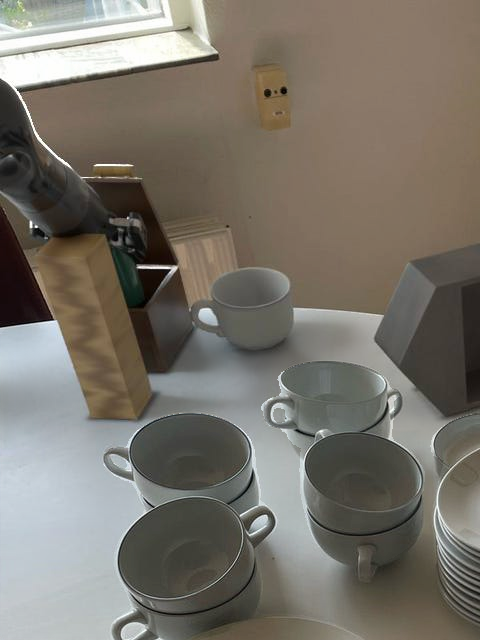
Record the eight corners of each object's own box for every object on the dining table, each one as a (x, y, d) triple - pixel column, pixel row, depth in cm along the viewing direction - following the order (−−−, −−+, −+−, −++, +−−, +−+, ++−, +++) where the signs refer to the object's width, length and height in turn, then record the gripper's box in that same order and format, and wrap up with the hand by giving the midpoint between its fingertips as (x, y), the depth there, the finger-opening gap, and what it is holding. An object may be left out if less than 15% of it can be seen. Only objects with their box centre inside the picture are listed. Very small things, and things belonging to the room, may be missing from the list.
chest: (164, 372, 134) (147, 311, 128) (88, 370, 135) (67, 309, 129) (193, 326, 143) (178, 266, 137) (122, 324, 144) (104, 265, 138)
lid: (140, 182, 124) (150, 152, 126) (58, 181, 125) (69, 152, 127) (177, 265, 136) (185, 237, 138) (102, 264, 137) (112, 235, 140)
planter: (391, 299, 111) (554, 255, 117) (365, 271, 116) (523, 231, 122) (405, 429, 123) (552, 384, 129) (380, 399, 128) (523, 357, 134)
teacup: (291, 314, 145) (282, 260, 139) (306, 350, 137) (297, 295, 132) (194, 332, 142) (180, 278, 136) (204, 370, 134) (190, 314, 129)
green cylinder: (99, 308, 132) (77, 240, 125) (113, 290, 135) (93, 223, 129) (137, 309, 131) (117, 241, 125) (151, 290, 135) (132, 223, 128)
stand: (91, 418, 127) (33, 255, 112) (108, 392, 131) (55, 232, 116) (137, 419, 126) (85, 256, 112) (153, 393, 131) (105, 233, 116)
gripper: (118, 164, 113) (172, 226, 130) (-6, 166, 114) (64, 227, 131) (117, 231, 113) (172, 284, 130) (-7, 233, 114) (64, 285, 131)
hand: (118, 255), depth 131 cm, fingers closed on green cylinder, 5 cm apart
